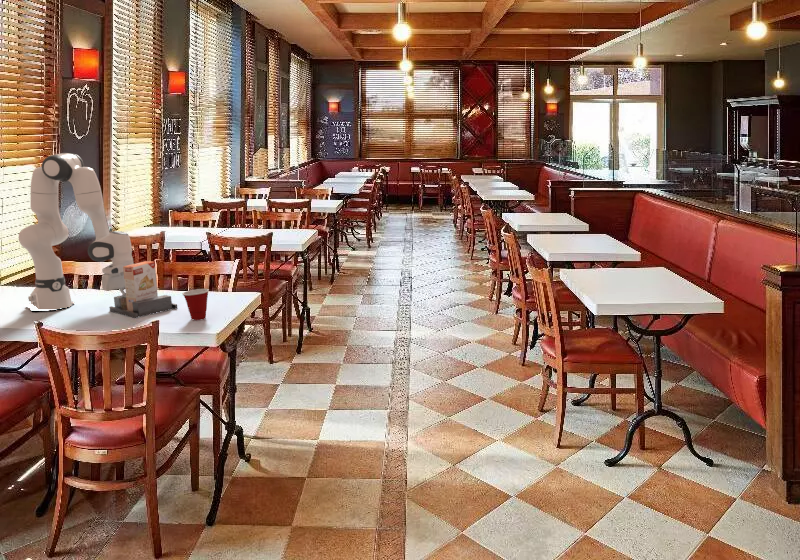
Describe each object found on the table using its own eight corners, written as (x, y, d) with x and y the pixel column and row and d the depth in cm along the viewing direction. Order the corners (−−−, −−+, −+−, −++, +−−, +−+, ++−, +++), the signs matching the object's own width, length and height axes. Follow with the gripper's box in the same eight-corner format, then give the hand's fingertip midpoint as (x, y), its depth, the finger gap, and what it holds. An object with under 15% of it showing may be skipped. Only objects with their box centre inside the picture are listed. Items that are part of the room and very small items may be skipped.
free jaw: (115, 310, 320) (113, 297, 319) (147, 303, 332) (146, 290, 331) (121, 311, 317) (119, 298, 316) (153, 304, 329) (152, 291, 328)
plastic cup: (193, 314, 308) (191, 287, 306) (216, 315, 305) (213, 288, 303) (179, 321, 298) (176, 293, 296) (202, 322, 295) (199, 294, 293)
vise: (109, 311, 319) (108, 298, 318) (150, 302, 334) (149, 289, 333) (136, 318, 305) (134, 304, 304) (177, 308, 320) (176, 295, 319)
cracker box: (138, 314, 312) (132, 266, 308) (127, 313, 314) (121, 266, 310) (159, 306, 325) (155, 261, 321) (149, 306, 327) (144, 260, 323)
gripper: (140, 262, 335) (143, 291, 338) (98, 270, 320) (102, 300, 322) (148, 264, 331) (151, 293, 333) (105, 271, 316) (109, 302, 318)
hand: (126, 296), depth 328 cm, fingers closed
